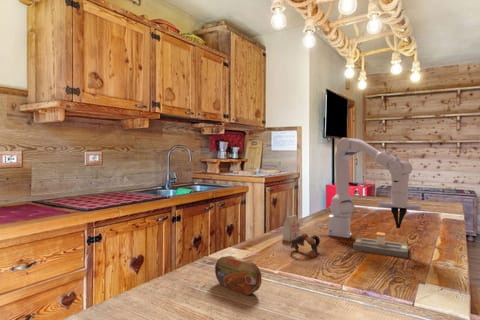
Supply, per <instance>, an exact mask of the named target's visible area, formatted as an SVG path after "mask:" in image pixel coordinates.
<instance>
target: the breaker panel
mask: <svg viewBox="0 0 480 320" xmlns="http://www.w3.org/2000/svg"><path fill="white" fill-rule="evenodd" d="M354 240H355V241H354V242H353V244H352V250H353V251H360V252H366V253H371V254H380V255H385V256H386V255H387V256H393V257H400V258H404V259H405V258H406V259H408V258H409V249H408V248H409V246H408V243H403V242H394V241H387V240H385V245H382V244H376V239H372V238H366V237H365V238H364V237H357V236H356V239H354Z"/></svg>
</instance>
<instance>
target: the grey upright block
mask: <svg viewBox="0 0 480 320" xmlns="http://www.w3.org/2000/svg"><path fill="white" fill-rule="evenodd" d="M300 227H301V224H300V221H299V219H298V215H296V214H295V215H290V216H287V217H285V222H284V223H283V226H282V241H285V240H286V242H289V243H290V241H292V240H293V239H294V240H296V238H297V237H299V236H300V232H301V231H300Z"/></svg>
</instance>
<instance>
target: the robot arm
mask: <svg viewBox="0 0 480 320" xmlns="http://www.w3.org/2000/svg"><path fill="white" fill-rule="evenodd" d="M360 152H362V153H364V154H365V155H368V156H369V157H371V158H373V159H374V160H375V162H376V164H377V165H379V166H381V167H382V168H384V169H386V170H388V171H389V174H390V177H391V192H390V201H378V202H377V203H378V204H377V205H378V206H377V207H378V208H388V209H391V210H390V211H391V213H392V216H393V218H394V221H395V228H396V229H401V227H402V222H403V220H404V218H405V216H406V214H407V211H408V210H410V211H419V212H421V211H422V210H421V209H422V206H421V204H414V203H408V200H409V199H408V198H409V176H410V174H411V173H412V172H413V167H412V164H411V163H410V162H409V161H408V160H405V159H403V160H402V159H401V158H400V157H399V156H395V155H393V154H391V151H390V150H382V151H380V150H378V149H376V148H375V147H373V146H372V145H371V144H369V143H367V142H365V141H364V139H363V140H362V139H361V138H359V137H358V138H354V137H353V138H349V137H348V138H347V137H342V138H340V139H339V140H338V141H337V142H336V152H335V155H334V159H335V167H334V168H335V195H334V196H332V198H331V204H330V212H331V214H329V216H328V219H327V220H328V222H327V225H328V226H327V236H332V237H338V238H346V239H350V238H351V237H352V234H353V233H352V232H351V216H352V214H353V213H354V211H355V205H354V202H353V201H354V200H353V197H352V196H351V195H350V194H349V193H350V191H349V190H350V189H349V188H350V187H349V183H350V182H349V159H350V158H351V157H352V156H354V155H356V154H358V153H360Z"/></svg>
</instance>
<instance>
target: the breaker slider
mask: <svg viewBox="0 0 480 320" xmlns="http://www.w3.org/2000/svg"><path fill="white" fill-rule="evenodd" d="M375 237H376V238H375V240H376V244H382V245H385V241H386V233H385V232H378V231H377V232H376V235H375Z"/></svg>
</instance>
